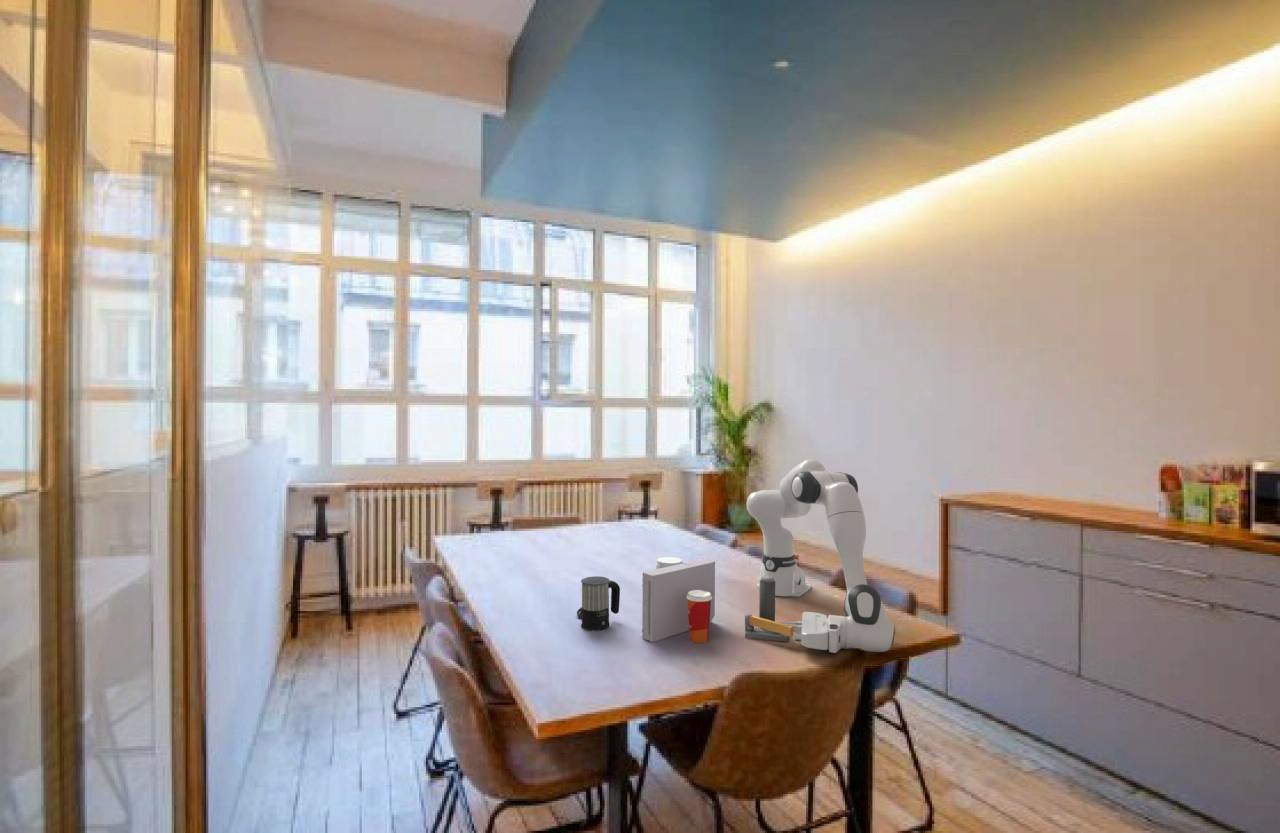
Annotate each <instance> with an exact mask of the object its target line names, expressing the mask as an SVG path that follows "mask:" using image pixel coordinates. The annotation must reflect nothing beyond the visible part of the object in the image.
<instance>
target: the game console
mask: <svg viewBox="0 0 1280 833" xmlns="http://www.w3.org/2000/svg"><path fill="white" fill-rule="evenodd" d="M641 586H642V614H641V615H642V616H641V617H642V621H641V622H642V624H641V626H642V628H641V634H642V635H641V636H642V639H644V640H646V641H648V640H649V642H651V643H653V641H654V642H657V641H660V640H663V639H666V638H669V637H672V636H675V635H678V634H681V633H685V632H687V631H688V632H689V619H688V599H687V598H686V597H687V595H688V592H690V591H693V590H702V591H707V592H710V594H711V597H712V599H711V607H710V623H709V625H710V624H712V620H713V619H714V618H715V614H716V613H715V612H716V611H715V608H716V607H715V605H716V603H715V602H716V598H715V597H716V561H714V560H709V559H706V558H699V559H695V560H689V561H686V562H682V564H678V565H673V566H668V567H664V568H659V569H656V568H655V569H650V570H643V571H642V585H641ZM659 639H660V640H659Z"/></svg>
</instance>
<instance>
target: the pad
mask: <svg viewBox="0 0 1280 833" xmlns="http://www.w3.org/2000/svg"><path fill="white" fill-rule="evenodd" d="M794 633H795V632H794ZM794 635H795V636H794V637H795V638H794V640H795V641H798V642H801V634H797V633H795V634H794Z"/></svg>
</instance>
